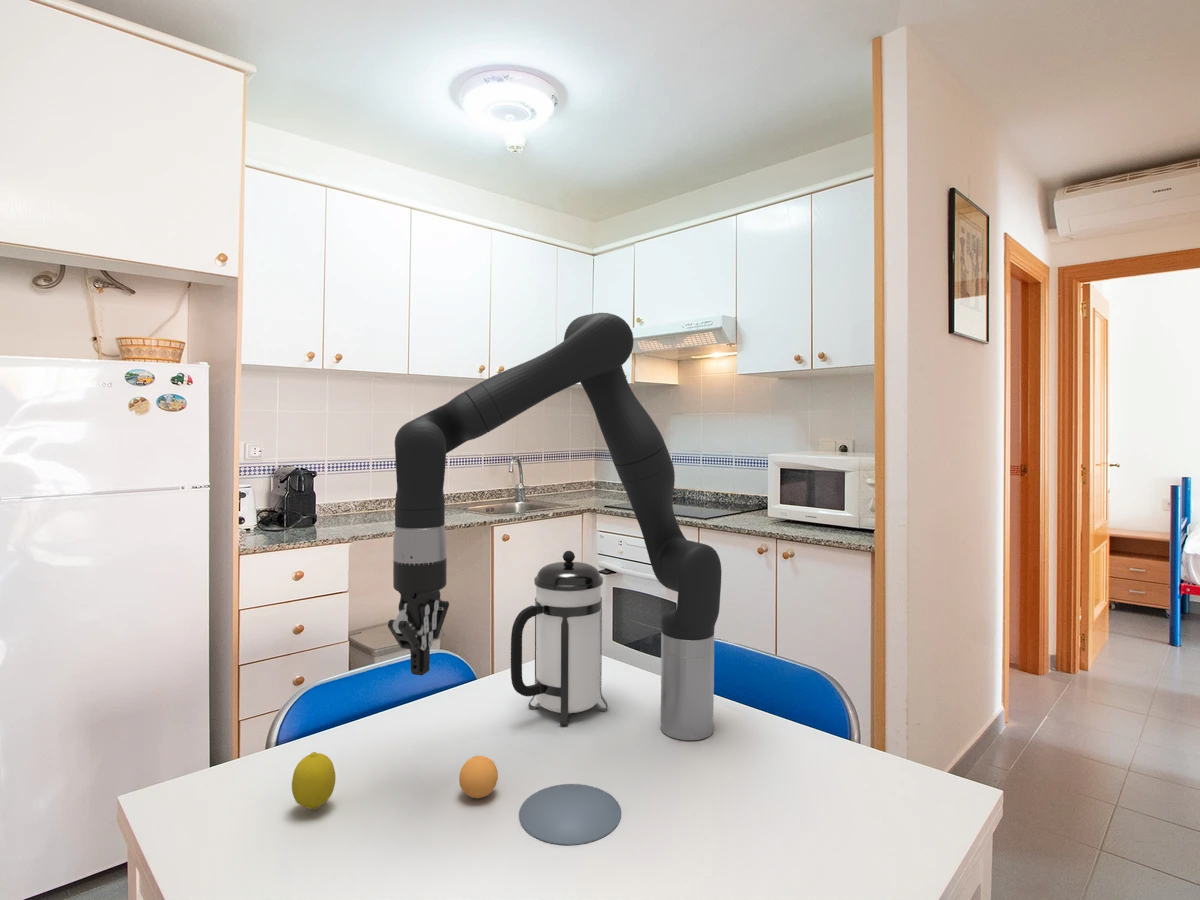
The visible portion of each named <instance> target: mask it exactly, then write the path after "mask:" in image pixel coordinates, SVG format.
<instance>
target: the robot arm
mask: <svg viewBox="0 0 1200 900" xmlns="http://www.w3.org/2000/svg"><path fill="white" fill-rule="evenodd" d="M633 349H634V334H633V332H632V329H631V327H630V325H629V324H628V322H627V321H626V320H625V319H623V318H622V317H620V316H619V315H616V314H613V313H609V312H596V313H590V314H585V315H581V316H579V317H577V318H575V319H573V320H572V321H571V322H570V323H569V324H568V326H567V327H566V330H565V332H564V337H563V341H562V342H560V343H559V344H557V345H556V346H554V347H553V348H550V349H549V350H547V351H545V352H543V353H542V354H539V355H538V356H536V357H534V358H532V359H529V360H527V361H525V362H523V363H520V364H518V365H516V366H513V367H510V368H507V369H506V370H504V371H501V372H499V373H497V374H494V375H493V376H490V377H489V378H487V379H484V380H483V381H480V382H479V383H477V384H476V385H473V386H471V387H469V388H468V389H466V390H464V391H463V392H461V393H459V394H457V395H456V396H454V398H452V399H451V400H450V401H448V402H446V403H445V404H443V405H440V406H439V407H437V408H434V409H432V410H430V411H427V412H426V413H424V414H422V415H420V416H418V417H415V418H413V419H412V420H410V421H408V422H406V423H404V424H403V425H402V426H401V427H399V428H398V431H397V432H396V434H395V438H394V452H395V453H394V455H395V457H394V458H395V474H396V475H395V476H396V477H395V478H396V493H395V500H394V501H395V502H394V535H393V543H392V547H393V548H392V549H393V550H392V551H393V552H392V553H393V554H392V555H393V557H392V558H393V560H392V561H393V562H392V563H393V571H392V572H393V575H392V576H393V579H392V580H393V582H392V583H393V589H394V590H395V591H397V592H398V593H399V595H400V597H399V603H398V611H399V613H398V614H397V616H396V618H395V619H389V621H388V623H387V627H388V629H389V631H390V632H391V634H392V636H393V638H394V639H395V640H396V642H397V644H398V645H399V647H400V648H401V649H403V650H405V649H406V650H409V652H410V673H411V674H412V675H415V676H416V675H417V676H423V675H425V674H427V673H429V671H430V662H431V661H430V660H431V659H430V658H431V657H430V653H431V652H430V651H431V650H430V648H431V647H432V646H433V643H434V640H438V639H439V636H440V634H441V631H442V627H443V625H444V622H445V619H446V615H447V613H448V610H449V607H450V602H449V601H447V600H443V599H441V590H443V589H444V588H446V586H447V535H446V527H445V526H446V525H445V523H446V522H445V516H446V515H445V514H446V513H445V495H444V493H445V492H444V487H445V486H444V485H445V476H446V475H445V473H446V465H447V463H446V460H447V459H446V458H447V454H449V452H452V451H453V450H455V449H456V448H458V447H460V446H461V445H463V444H464V443H467V442H469V441H472V440H476V439H478V438H480V437H482V436H484V435H486V434H488V433H489V432H492V431H493V430H495V429H496V428H498V427H500V426H502V425H503V424H506V423H507V422H509V421H511V420H512V419H514V418H515V417H517V416H519V415H521V414H523V413H524V412H526V411H527V410H529V409H530V408H532V407H534V406H536V405H538V404H539V403H541V402H543V401H545V400H547V399H548V398H550V397H552V396H553V395H555V394H557V393H560V392H562V391H564V390H566V389H568V388H570V387H572V386H574V385H577V384H579V383H580V384H581V386H582V388H583V390H584V392H585V394H586V395H587V398H588V399H589V402H590V404H591V406H592V409H593V411H594V414H595V417H596V420H597V423H598V426H599V428H600V431H601V433H602V436H603V439H604V441H605V444H606V446H607V448H608V452H609V454H610V457H611V460H612V462H613V465H614V468H615V471H616V473H617V475H618V477H619V480H620V482H621V484H622V486H623V488H624V490H625V492H626V495H627V498H628V499H629V503H630V505H631V508H632V511H633V513H634V516H635V518H636V520H637V523H638V525H639V528H640V531H641V534H642V537H643V540H644V545H645V548H646V551H647V555H648V558H649V562H650V566H651V569H652V571H653V573H654V576H655V577H656V579H657V582H659V583H660V584H661V585H662V586H663V587H665V588H666V589H669V590H671V591H674V592H677V602H676V608H675V609H673V610H670V611H667V612H665V613H664V614H663V615H662V617H661V621H660V622H661V625H660V626H661V631H660V632H661V633H660V635H661V637H660V638H661V639H660V643H661V645H660V649H661V650H660V651H661V652H660V730H661V731H662V732H663V733H664V734H665V735H667V736H668V737H671V738H673V739H675V740H676V739H677V740H681V741H699V740H703V739H707V738H709V737H710V736H712V734H713V732H714V707H715V706H714V701H715V700H714V699H715V698H714V697H715V695H714V693H715V692H714V691H715V689H714V688H715V626H716V623H717V620H718V618H719V614H720V604H721V590H722V589H721V588H722V564H721V559H720V556H719V554H718V552H717V550H716V549H715V548H713V547H712V546H710V545H708V544H705V543H701V542H698V541H693V540H688V539H687V538H686V536H685V535H684V534H683V532H682V529H681V527H680V526H679V525H680V524H679V523H678V520H677V518H676V515H675V512H674V506H673V502H674V501H673V499H674V491H675V481H676V480H675V477H676V475H675V467H674V463H673V460H672V458H671V454H670V452H669V449H668V448H667V445H666V442H665V440H664V438H663V435H662V434H661V431H660V430H659V428H658V427H657V425H656V423H655V422H654V420H653V418H651V416H650V414H649V413H648V412H647V410H646V409H645V408H644V406H643V405H642V403H641V402H640V401H639V400H638V398H637V397H636V395H635V394H634V392H633V390H632V388H631V386H630V384H629V382H628V379H627V377H626V374H625V371H624V369H623V365H625V363H626V362H627V361H628V360H629V358H630V356H631V354H632V352H633Z"/></svg>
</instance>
